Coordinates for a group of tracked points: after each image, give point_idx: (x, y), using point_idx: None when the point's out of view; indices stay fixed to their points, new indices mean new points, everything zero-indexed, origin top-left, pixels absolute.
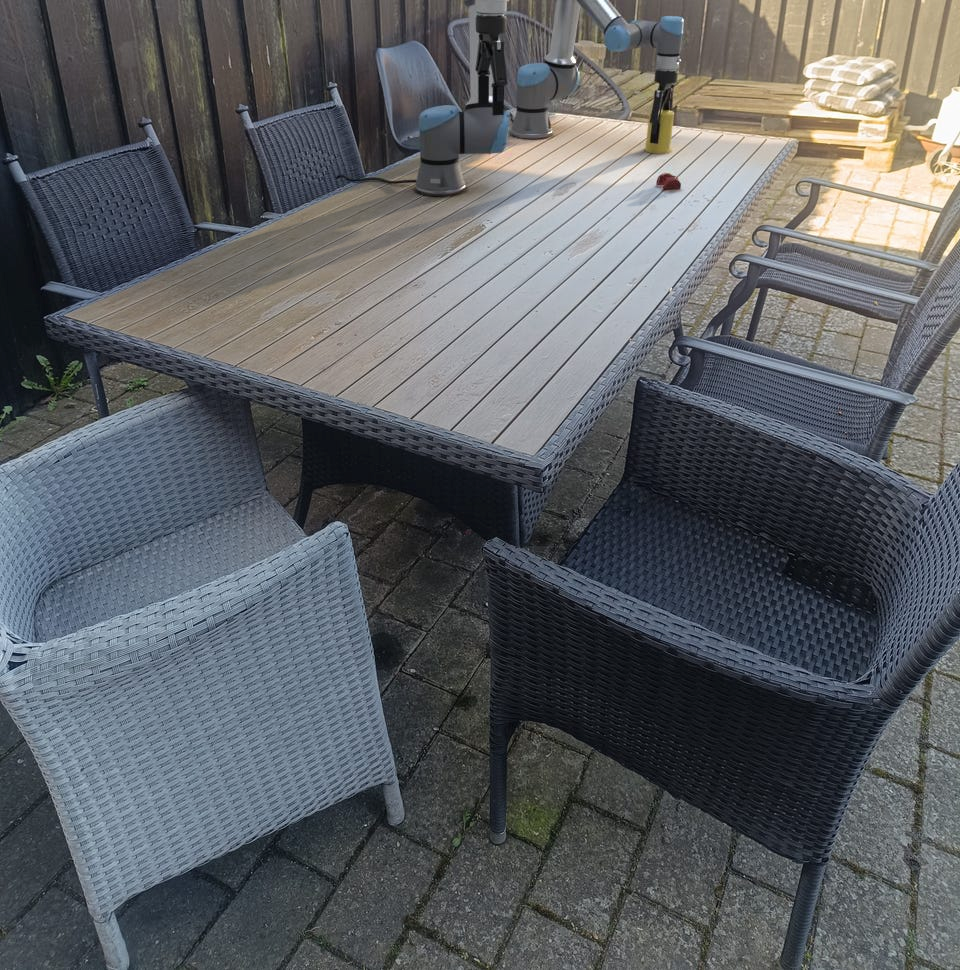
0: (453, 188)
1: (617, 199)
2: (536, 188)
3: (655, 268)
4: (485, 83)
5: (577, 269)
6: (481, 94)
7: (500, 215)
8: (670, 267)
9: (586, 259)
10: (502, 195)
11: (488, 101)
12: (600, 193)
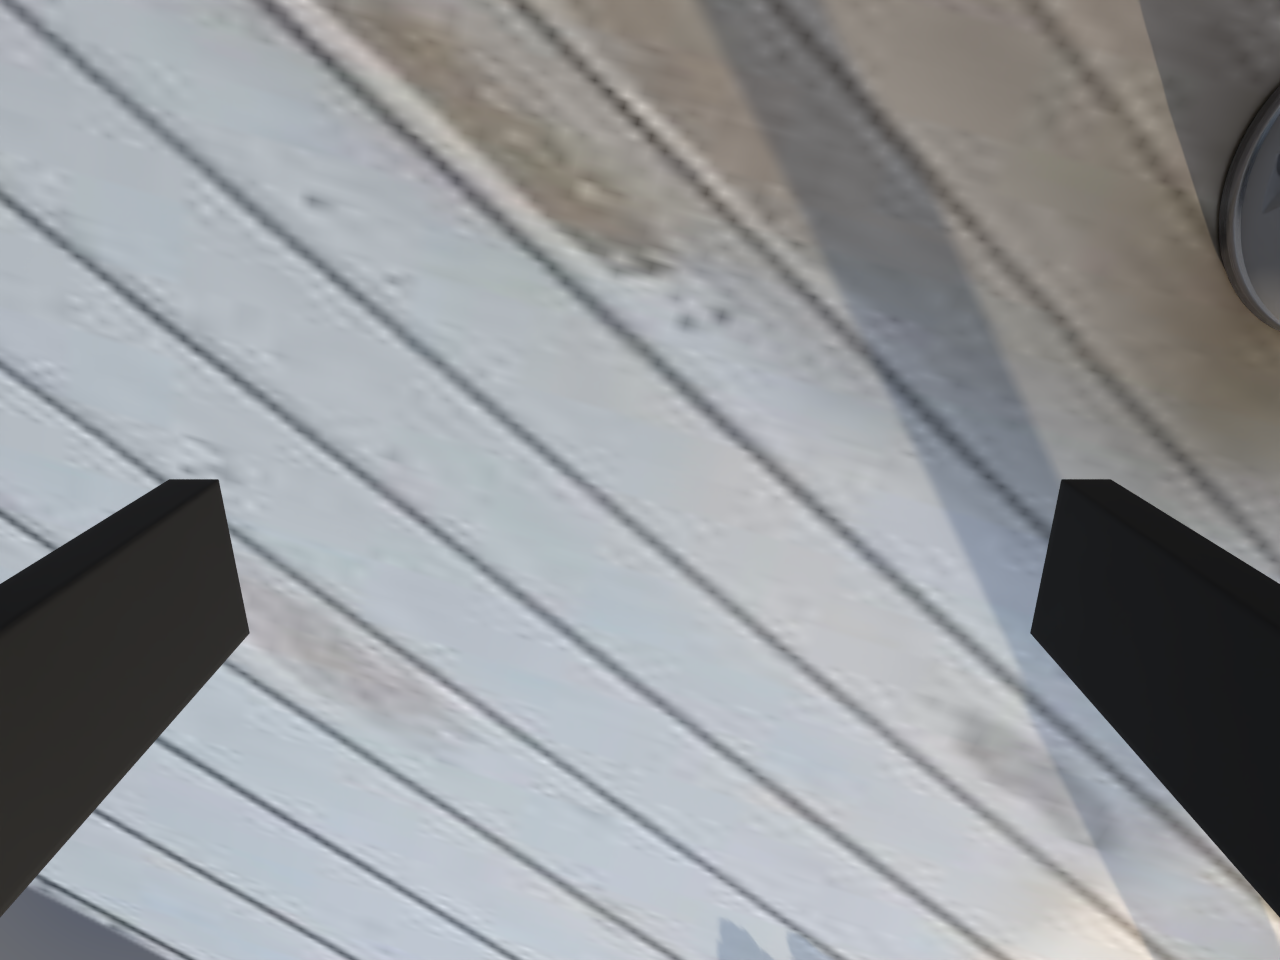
0: (1248, 240)
1: (818, 917)
2: None
3: None
4: (1267, 805)
5: (3, 513)
6: (1142, 592)
7: (782, 401)
8: None
9: None
10: None
11: (1045, 643)
12: (920, 888)
